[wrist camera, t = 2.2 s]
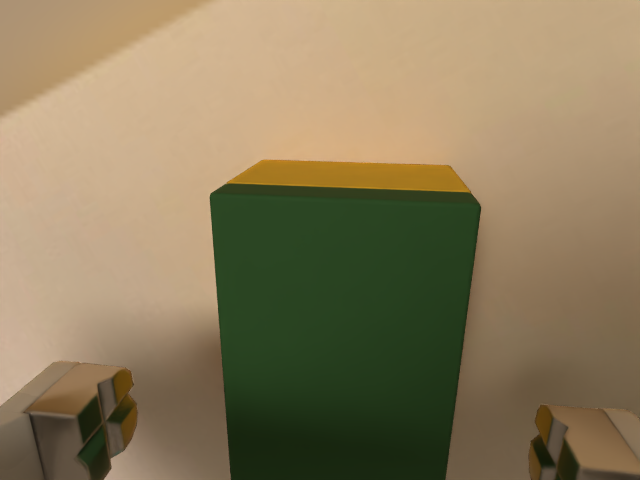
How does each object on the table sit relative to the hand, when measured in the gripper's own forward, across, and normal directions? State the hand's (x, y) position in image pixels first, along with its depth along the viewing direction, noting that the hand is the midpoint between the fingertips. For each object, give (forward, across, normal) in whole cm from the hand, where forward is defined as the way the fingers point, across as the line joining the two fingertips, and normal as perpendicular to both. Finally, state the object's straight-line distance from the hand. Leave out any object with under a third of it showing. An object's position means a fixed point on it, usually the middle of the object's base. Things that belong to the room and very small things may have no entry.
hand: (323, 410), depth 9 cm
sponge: (+5, 0, 0) cm, 5 cm away
